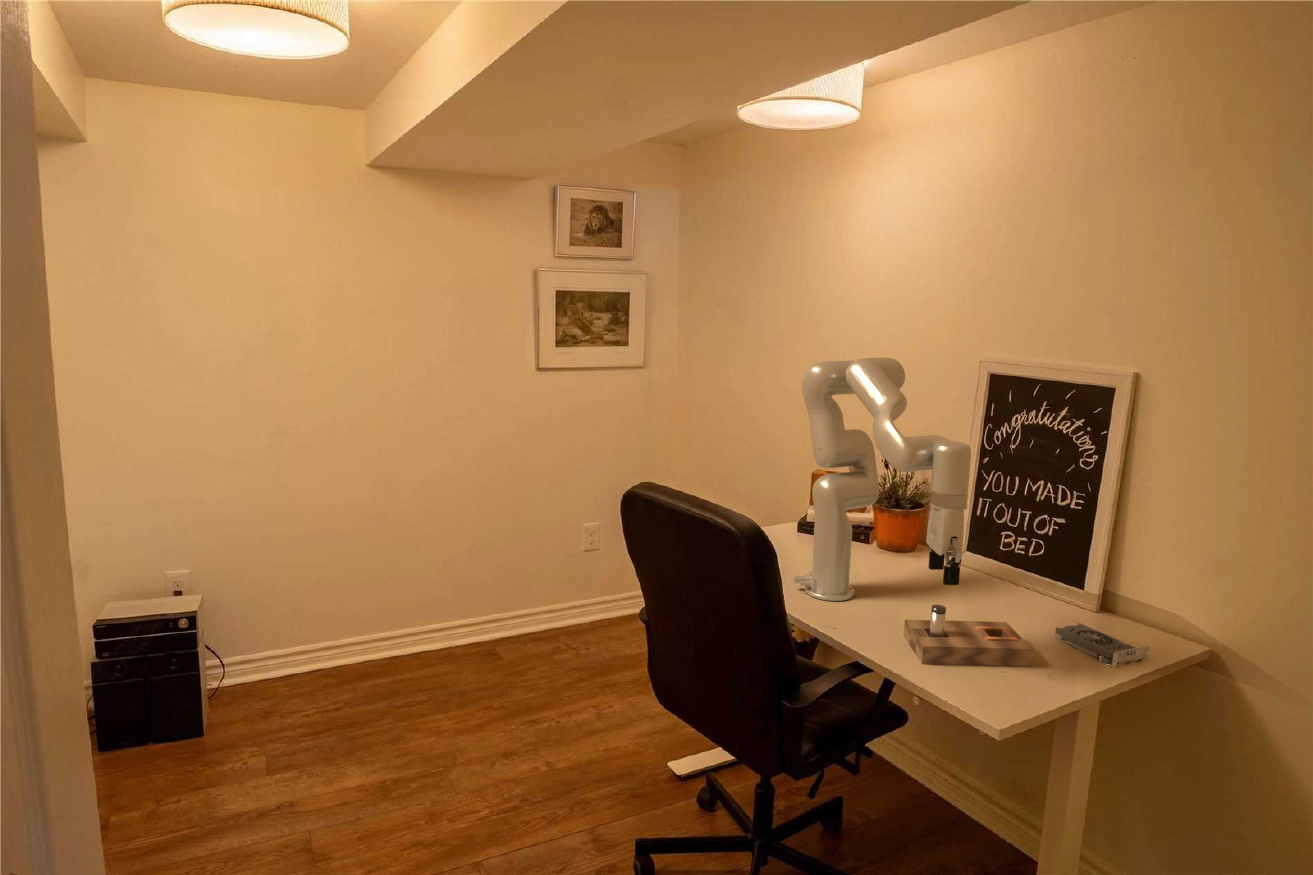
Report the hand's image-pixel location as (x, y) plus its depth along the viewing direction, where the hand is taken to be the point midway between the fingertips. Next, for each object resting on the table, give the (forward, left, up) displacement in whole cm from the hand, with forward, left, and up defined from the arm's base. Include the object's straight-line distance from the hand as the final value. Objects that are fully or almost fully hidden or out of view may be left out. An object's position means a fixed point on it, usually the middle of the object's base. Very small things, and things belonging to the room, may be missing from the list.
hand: (943, 576), depth 179 cm
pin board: (+6, 0, -17) cm, 18 cm away
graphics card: (+38, +3, -18) cm, 42 cm away
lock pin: (0, 0, -17) cm, 17 cm away
